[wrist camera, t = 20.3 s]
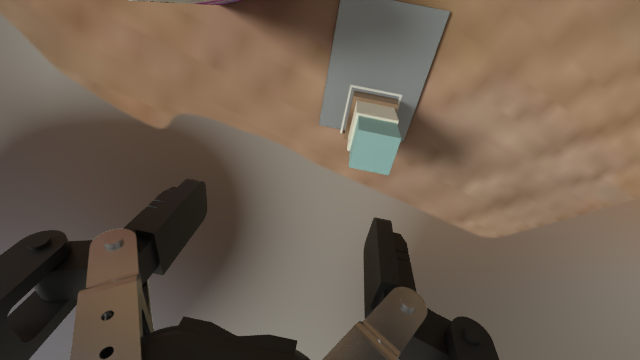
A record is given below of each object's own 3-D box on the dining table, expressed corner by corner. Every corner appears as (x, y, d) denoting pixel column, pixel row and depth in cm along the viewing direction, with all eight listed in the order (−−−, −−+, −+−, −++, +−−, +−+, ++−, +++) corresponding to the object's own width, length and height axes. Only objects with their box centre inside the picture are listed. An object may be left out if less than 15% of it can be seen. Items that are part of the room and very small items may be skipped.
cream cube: (356, 100, 36) (356, 112, 32) (394, 107, 36) (398, 120, 32) (348, 135, 39) (347, 150, 35) (383, 142, 39) (386, 158, 35)
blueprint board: (342, -10, 33) (341, -10, 33) (449, 11, 33) (450, 11, 33) (318, 127, 43) (318, 128, 42) (401, 144, 42) (402, 145, 42)
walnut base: (353, 90, 39) (353, 95, 36) (396, 98, 39) (398, 105, 36) (344, 130, 42) (344, 137, 39) (384, 137, 42) (385, 146, 39)
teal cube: (358, 115, 32) (358, 129, 28) (396, 123, 32) (401, 138, 28) (349, 149, 35) (348, 167, 31) (385, 157, 35) (388, 175, 31)
